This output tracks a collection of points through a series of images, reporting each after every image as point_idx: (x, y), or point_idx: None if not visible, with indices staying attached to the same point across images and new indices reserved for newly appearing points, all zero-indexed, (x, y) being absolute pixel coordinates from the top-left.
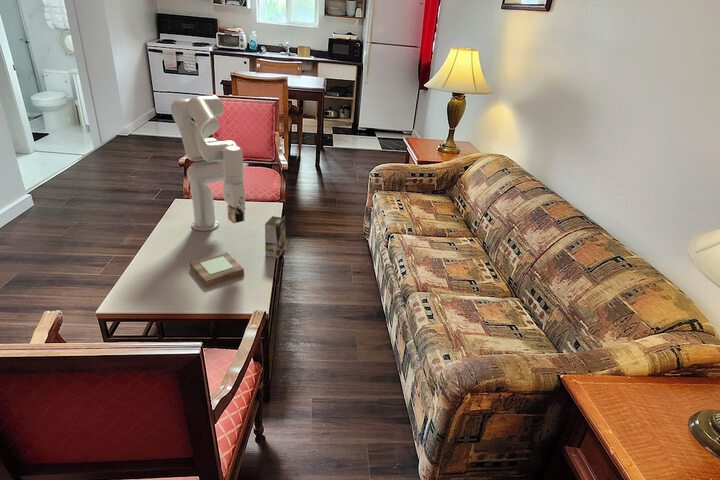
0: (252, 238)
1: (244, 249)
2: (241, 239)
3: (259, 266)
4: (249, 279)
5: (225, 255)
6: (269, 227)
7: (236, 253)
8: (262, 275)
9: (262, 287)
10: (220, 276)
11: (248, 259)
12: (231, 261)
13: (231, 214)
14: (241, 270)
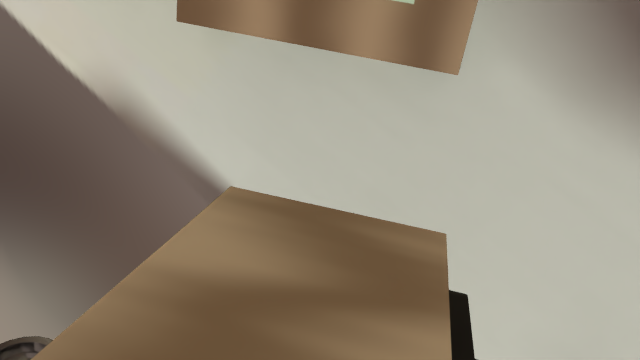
0: (532, 348)
1: (456, 223)
2: (585, 298)
3: (227, 152)
4: (145, 15)
5: (417, 31)
6: None
7: (454, 153)
8: (141, 101)
9: (45, 21)
10: None
11: (334, 158)
12: (311, 13)
13: (238, 284)
14: (180, 1)
